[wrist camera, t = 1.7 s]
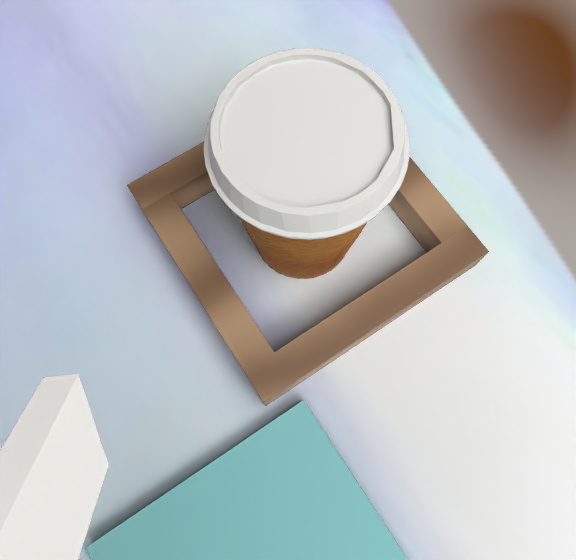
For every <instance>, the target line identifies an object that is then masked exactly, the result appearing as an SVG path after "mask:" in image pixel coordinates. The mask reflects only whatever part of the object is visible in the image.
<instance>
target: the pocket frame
mask: <svg viewBox="0 0 576 560" xmlns="http://www.w3.org/2000/svg"><path fill="white" fill-rule="evenodd" d="M127 186H128V188H129V189H130V191H131V193H132V194H133V196H134V197H135V199H136V201H137V202H138V204H139V205H140V207H141V208H142V210H143V212H144V213H145V215H146V216H147V218H148V220H149V221H150V223H151V224H152V226H153V228H154V229H155V231H156V232H157V234H158V236H159V237H160V239H161V240H162V242H163V243H164V245H165V247H166V248H167V250H168V251H169V253H170V255H171V256H172V258H173V259H174V261H175V263H176V264H177V266H178V267H179V269H180V270H181V272H182V274H183V275H184V277H185V278H186V280H187V282H188V283H189V285H190V286H191V288H192V290H193V291H194V293H195V294H196V296H197V298H198V299H199V301H200V302H201V304H202V305H203V307H204V309H205V310H206V312H207V313H208V315H209V317H210V318H211V320H212V321H213V323H214V325H215V326H216V328H217V329H218V331H219V333H220V334H221V336H222V337H223V339H224V340H225V342H226V344H227V345H228V347H229V348H230V350H231V352H232V353H233V355H234V356H235V358H236V360H237V361H238V363H239V364H240V366H241V367H242V369H243V371H244V372H245V374H246V375H247V377H248V379H249V380H250V382H251V383H252V385H253V387H254V388H255V390H256V391H257V393H258V395H259V396H260V398H261V399H262V401H263V402H264V404H265V405H266V406H267V405H268V404H270V403H271V402H273V401H274V400H276V399H277V398H279V397H280V396H281V395H283V394H284V393H286V392H287V391H289V390H290V389H292V388H293V387H295V386H296V385H298V384H299V383H301V382H302V381H304V380H305V379H307V378H308V377H310V376H311V375H313V374H314V373H316V372H317V371H319V370H320V369H322V368H323V367H325V366H326V365H328V364H329V363H331V362H332V361H334V360H335V359H337V358H338V357H340V356H341V355H343V354H344V353H346V352H347V351H349V350H350V349H352V348H353V347H354V346H356V345H357V344H359V343H360V342H362V341H363V340H365V339H366V338H368V337H369V336H371V335H372V334H374V333H375V332H377V331H378V330H380V329H381V328H383V327H384V326H386V325H387V324H389V323H390V322H392V321H393V320H395V319H396V318H398V317H399V316H401V315H402V314H404V313H405V312H407V311H408V310H410V309H411V308H413V307H414V306H416V305H417V304H419V303H420V302H422V301H423V300H425V299H426V298H427V297H429V296H430V295H432V294H433V293H435V292H436V291H438V290H439V289H441V288H442V287H444V286H445V285H447V284H448V283H450V282H451V281H453V280H454V279H456V278H457V277H459V276H460V275H462V274H463V273H465V272H466V271H468V270H469V269H471V268H472V267H474V266H475V265H476V264H477V263H478V262H479V261H480V260H481V259H482V258H483V257H484V256H485V255H486V254H487V253H488V252H489V251H488V250H487V249H486V247H485V246H484V245H483V244H482V243H481V241H480V240H479V239H478V238H477V237H476V235H475V234H474V233H473V232H472V231H471V229H470V228H469V227H468V226H467V225H466V224H465V222H464V221H463V220H462V219H461V218H460V216H459V215H458V214H457V213H456V212H455V210H454V209H453V208H452V207H451V206H450V204H449V203H448V202H447V201H446V200H445V198H444V197H443V196H442V195H441V194H440V192H439V191H438V190H437V189H436V188H435V186H434V185H433V184H432V183H431V182H430V180H429V179H428V178H427V177H426V176H425V174H424V173H423V172H422V171H421V170H420V169H419V167H418V166H417V165H416V164H415V163H414V161H413V160H412V159H411V158H410V157H409V161H408V167H407V171H406V174H405V177H404V179H403V182H402V184H401V186H400V188H399V189H398V191H397V192H396V194H395V195H394V197H393V199H392V200H391V202H390V203H389V205H390V206H391V208H392V209H393V210H394V211H395V213H396V214H397V215H398V216H399V218H400V219H401V220H402V221H403V223H404V224H405V225H406V226H407V228H408V229H409V230H410V231H411V233H412V234H413V235H414V236H415V238H416V239H417V240H418V241H419V243H420V244H421V245H422V246H423V248H424V249H425V250H426V251H427V253H426V254H424V255H422V256H421V257H419V258H418V259H416V260H415V261H413V262H412V263H410V264H409V265H407V266H406V267H404V268H403V269H401V270H399V271H398V272H396V273H395V274H393V275H392V276H390V277H389V278H387V279H386V280H384V281H383V282H381V283H380V284H378V285H377V286H375V287H373V288H372V289H370V290H369V291H367V292H366V293H364V294H363V295H361V296H360V297H358V298H357V299H355V300H354V301H352V302H351V303H349V304H347V305H346V306H344V307H343V308H341V309H340V310H338V311H337V312H335V313H334V314H332V315H331V316H329V317H328V318H326V319H325V320H323V321H321V322H320V323H318V324H317V325H315V326H314V327H312V328H311V329H309V330H308V331H306V332H305V333H303V334H302V335H300V336H298V337H297V338H295V339H294V340H292V341H291V342H289V343H288V344H286V345H285V346H283V347H282V348H280V349H279V350H277V351H276V352H274V351H273V349H272V348H271V346H270V345H269V343H268V342H267V340H266V339H265V337H264V336H263V334H262V333H261V331H260V330H259V328H258V327H257V325H256V323H255V322H254V320H253V319H252V317H251V316H250V314H249V313H248V311H247V310H246V308H245V307H244V305H243V304H242V302H241V301H240V299H239V298H238V296H237V294H236V293H235V291H234V290H233V288H232V287H231V285H230V284H229V282H228V281H227V279H226V278H225V276H224V275H223V273H222V272H221V270H220V269H219V267H218V265H217V264H216V262H215V261H214V259H213V258H212V256H211V255H210V253H209V252H208V250H207V249H206V247H205V246H204V244H203V243H202V241H201V239H200V238H199V236H198V235H197V233H196V232H195V230H194V229H193V227H192V226H191V224H190V223H189V221H188V220H187V218H186V217H185V215H184V214H183V212H182V210H181V209H182V208H184V207H185V206H187V205H189V204H190V203H192V202H194V201H196V200H197V199H199V198H201V197H203V196H204V195H206V194H208V193H209V192H211V191H213V190H215V188H214V186H213V185H212V182H211V179H210V177H209V174H208V171H207V168H206V165H205V157H204V142H203V143H201V144H199V145H197V146H196V147H194V148H192V149H190V150H188V151H187V152H185V153H183V154H181V155H180V156H178V157H176V158H174V159H172V160H171V161H169V162H167V163H165V164H164V165H162V166H160V167H158V168H156V169H155V170H153V171H151V172H149V173H148V174H146V175H144V176H142V177H140V178H139V179H137V180H135V181H133V182H131V183H130V184H128V185H127Z"/></svg>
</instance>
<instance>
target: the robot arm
mask: <svg viewBox="0 0 576 560" xmlns="http://www.w3.org/2000/svg"><path fill="white" fill-rule="evenodd" d="M108 467H109V464H108V461H107V458H106V455H105V452H104V449H103V446H102V443H101V440H100V437H99V434H98V431H97V428H96V425H95V422H94V419H93V416H92V413H91V410H90V407H89V404H88V401H87V398H86V395H85V392H84V389H83V386H82V383H81V380H80V377H79V374H70V375H61V376H52V377H43V379H42V381H41V382H40V384H39V386H38V387H37V389H36V391H35V393H34V394H33V396H32V398H31V399H30V401H29V403H28V404H27V406H26V408H25V409H24V411H23V413H22V415H21V416H20V418H19V420H18V421H17V423H16V425H15V426H14V428H13V430H12V432H11V433H10V435H9V437H8V438H7V440H6V442H5V443H4V445H3V447H2V448H1V450H0V560H78V559H79V556H80V553H81V550H82V547H83V544H84V540H85V537H86V534H87V531H88V528H89V525H90V522H91V519H92V516H93V513H94V510H95V507H96V503H97V500H98V497H99V494H100V491H101V488H102V485H103V482H104V479H105V476H106V473H107V470H108Z"/></svg>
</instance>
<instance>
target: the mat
mask: <svg viewBox="0 0 576 560" xmlns="http://www.w3.org/2000/svg"><path fill="white" fill-rule="evenodd" d="M86 549H87V551H88V553H89V555H90V558H91V560H408V559H407V558H406V556H405V554H404V553H403V551H402V550H401V548H400V547H399V545H398V544H397V542H396V541H395V539H394V538H393V536H392V535H391V533H390V532H389V530H388V528H387V527H386V525H385V524H384V522H383V521H382V519H381V518H380V516H379V515H378V513H377V512H376V510H375V509H374V507H373V506H372V504H371V502H370V501H369V499H368V498H367V496H366V495H365V493H364V492H363V490H362V489H361V487H360V486H359V484H358V483H357V481H356V480H355V478H354V476H353V475H352V473H351V472H350V470H349V469H348V467H347V466H346V464H345V463H344V461H343V460H342V458H341V457H340V455H339V453H338V452H337V450H336V449H335V447H334V446H333V444H332V443H331V441H330V440H329V438H328V437H327V435H326V434H325V432H324V431H323V429H322V427H321V426H320V424H319V423H318V421H317V420H316V418H315V417H314V415H313V414H312V412H311V411H310V409H309V408H308V406H307V405H306V403H305V401H304V400H303V401H301V402H300V403H298V404H297V405H295V406H294V407H292V408H291V409H289V410H288V411H286V412H285V413H283V414H282V415H281V416H279V417H278V418H276V419H275V420H273V421H272V422H270V423H269V424H267V425H266V426H264V427H263V428H261V429H260V430H258V431H257V432H255V433H254V434H253V435H251V436H250V437H248V438H247V439H245V440H244V441H242V442H241V443H239V444H238V445H236V446H235V447H233V448H232V449H230V450H229V451H227V452H226V453H225V454H223V455H222V456H220V457H219V458H217V459H216V460H214V461H213V462H211V463H210V464H208V465H207V466H205V467H204V468H202V469H201V470H199V471H198V472H197V473H195V474H194V475H192V476H191V477H189V478H188V479H186V480H185V481H183V482H182V483H180V484H179V485H177V486H176V487H174V488H173V489H171V490H170V491H169V492H167V493H166V494H164V495H163V496H161V497H160V498H158V499H157V500H155V501H154V502H152V503H151V504H149V505H148V506H146V507H145V508H143V509H142V510H140V511H139V512H138V513H136V514H135V515H133V516H132V517H130V518H129V519H127V520H126V521H124V522H123V523H121V524H120V525H118V526H117V527H115V528H114V529H112V530H111V531H110V532H108V533H107V534H105V535H104V536H102V537H101V538H99V539H98V540H96V541H95V542H93V543H92V544H90V545H89V546H87V547H86Z"/></svg>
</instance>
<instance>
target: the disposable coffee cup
mask: <svg viewBox="0 0 576 560" xmlns="http://www.w3.org/2000/svg"><path fill="white" fill-rule="evenodd" d="M409 155H410V146H409V136H408V131H407V127H406V123H405V121H404V118H403V116H402V111H401V108H400V106H399V104H398V101H397V99H396V97H395V95H394V94H393V92H392V91H391V89H390V87H389V86H388V85H387V84H386V83H385V82H384V81H383V79H382V78H381V77H380V76H379V75H378V74H377V73H376V72H375V71H373V70H372V69H370V68H369V67H367V66H366V65H364V64H363V63H361V62H360V61H358V60H356V59H354V58H351V57H349V56H346V55H344V54H342V53H338V52H333V51H329V50H324V49H315V48H297V49H290V50H285V51H280V52H275V53H273V54H270V55H267V56H265V57H262V58H260V59H258V60H256V61H254V62H253V63H251V64H249V65H248V66H246V67H245V68H244V69H242V70H241V71H240V72H238V73H237V74H236V75H235V76H234V77H233V78H232V79H231V80H230V82H229V83H228V84H227V85H226V87H225V88H224V90H223V91H222V93H221V94H220V96H219V97H218V100H217V102H216V105H215V107H214V110H213V112H212V114H211V116H210V118H209V121H208V124H207V128H206V131H205V137H204V157H205V165H206V168H207V171H208V174H209V177H210V179H211V182H212V185H213V186H214V188H215V190H216V191H217V193H218V194H219V196H220V197H221V199H222V200H223V201H224V203H225V204H226V205H227V206H228V207H229V208H230V209H231V210H232V211H233V212H234V213H235V214H237V215H238V216H239V217H240V219H241V221H242V223H243V224H244V226H245V228H246V230H247V231H248V234H249V235H250V237H251V238H252V240H253V242H254V244H255V246H256V247H257V249H258V251H259V253H260V255H261V257H262V258H263V260H264V261H265V262H266V263H267V264H268V265H269V266H270V267H271V268H272V269H274V270H275V271H277V272H278V273H281V274H283V275H285V276H288V277H293V278H314V277H317V276H320V275H323V274H325V273H327V272H329V271H331V270H332V269H333V268H334V267H335V266H337V265H338V264H339V263H340V261H341V260H342V259H343V258H344V256H345V254H346V253H347V251H348V250H349V248H350V247H351V245H352V244H353V243H354V241H355V240H356V238H357V237H358V236H359V234H360V233H361V231H362V229H363V228H364V226H365V225H366V223H367V222H368V221H370V220H371V219H373V218H374V217H375V216H376V215H377V214H378V213H379V212H380V211H381V210H382V209H383V208H384V207H385V206H387V205H388V204H389V203H390V202H391V200H392V199H393V197H394V195H395V194H396V192H397V191H398V189H399V188H400V186H401V184H402V182H403V179H404V177H405V174H406V171H407V167H408V161H409Z"/></svg>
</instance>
